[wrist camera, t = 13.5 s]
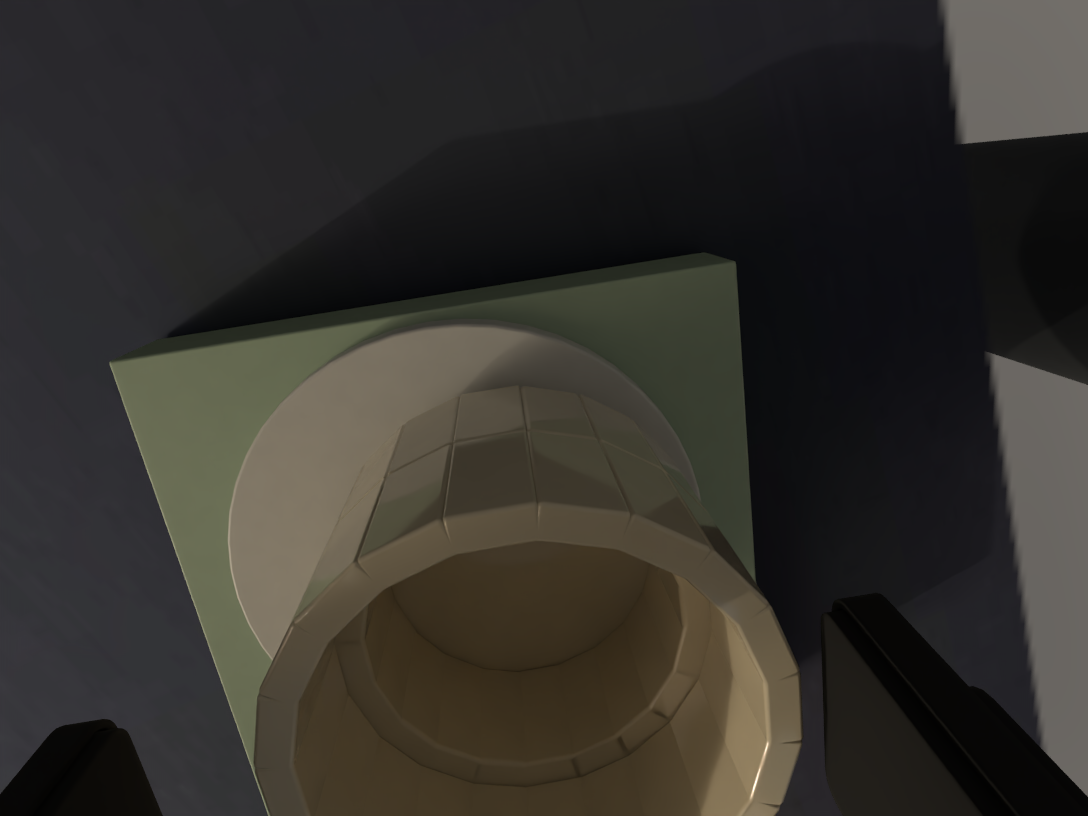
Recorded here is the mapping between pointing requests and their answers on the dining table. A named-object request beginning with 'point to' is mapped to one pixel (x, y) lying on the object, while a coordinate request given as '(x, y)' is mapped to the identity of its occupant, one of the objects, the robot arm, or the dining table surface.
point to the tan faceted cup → (527, 633)
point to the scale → (398, 396)
